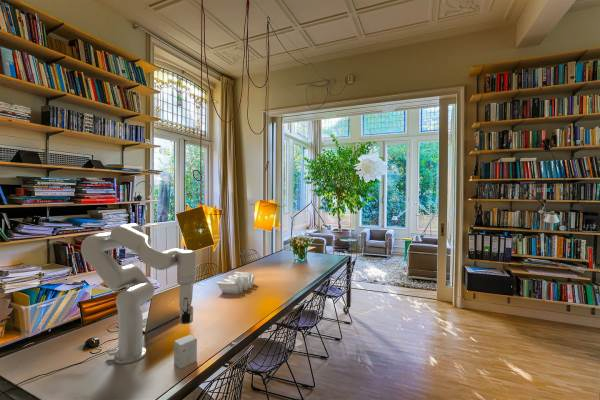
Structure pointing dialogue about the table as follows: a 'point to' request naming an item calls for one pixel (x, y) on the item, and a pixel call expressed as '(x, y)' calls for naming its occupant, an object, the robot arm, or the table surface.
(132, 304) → the robot arm
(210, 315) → the table surface
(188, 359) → the small box
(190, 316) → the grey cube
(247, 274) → the wavy white extrusion
